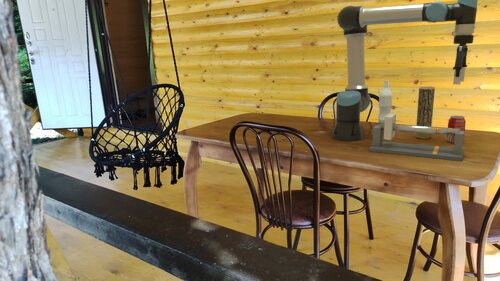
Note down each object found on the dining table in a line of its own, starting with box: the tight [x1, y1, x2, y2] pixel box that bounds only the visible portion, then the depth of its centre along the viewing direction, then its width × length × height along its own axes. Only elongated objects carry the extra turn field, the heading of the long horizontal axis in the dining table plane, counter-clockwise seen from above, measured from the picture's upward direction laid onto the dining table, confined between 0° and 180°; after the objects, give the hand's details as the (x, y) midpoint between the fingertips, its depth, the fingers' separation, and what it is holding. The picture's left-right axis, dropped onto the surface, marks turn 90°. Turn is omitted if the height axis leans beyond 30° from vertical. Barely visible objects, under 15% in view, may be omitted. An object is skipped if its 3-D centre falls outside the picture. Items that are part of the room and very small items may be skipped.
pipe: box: [377, 122, 460, 136], centre depth 155 cm, size 32×3×3 cm, turn 59°
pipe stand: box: [368, 124, 465, 162], centre depth 156 cm, size 36×14×10 cm, turn 59°
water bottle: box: [377, 80, 393, 124], centre depth 211 cm, size 7×7×25 cm
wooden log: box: [415, 86, 436, 140], centre depth 176 cm, size 7×7×25 cm
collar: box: [383, 113, 397, 141], centre depth 160 cm, size 3×9×10 cm, turn 149°
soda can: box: [446, 115, 466, 144], centre depth 168 cm, size 7×7×12 cm
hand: (458, 82), depth 165 cm, fingers open, 13 cm apart
